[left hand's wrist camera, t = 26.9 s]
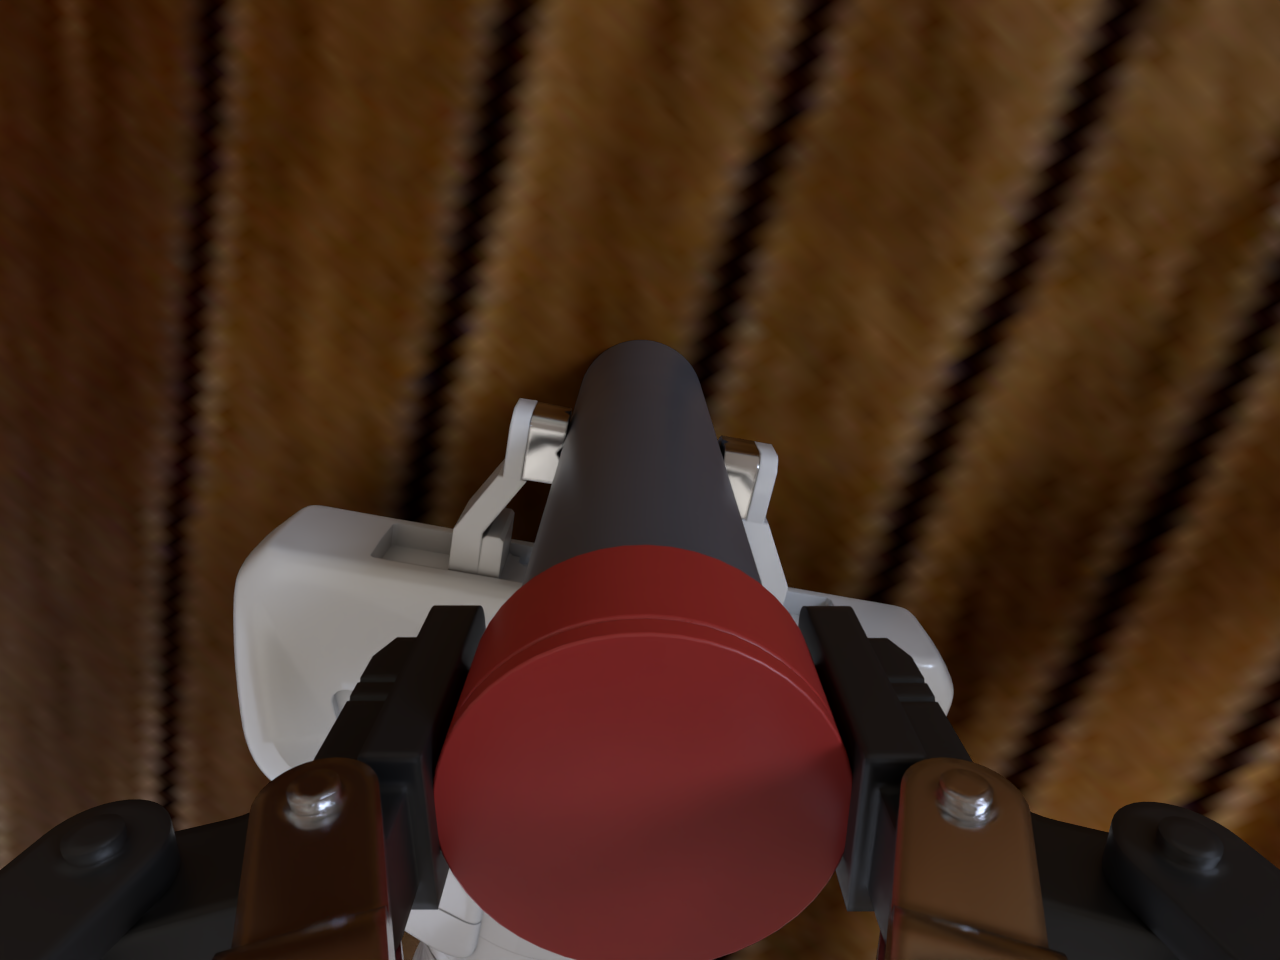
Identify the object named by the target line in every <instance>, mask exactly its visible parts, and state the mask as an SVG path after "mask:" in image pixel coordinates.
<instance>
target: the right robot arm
mask: <svg viewBox="0 0 1280 960" xmlns="http://www.w3.org/2000/svg"><path fill="white" fill-rule="evenodd" d="M571 414H572V408H568V407H564V406H559V405H554V404H549V403H544V402H539V401H537V400H530V399H522V398H520V399H519V400H518V402H517V404H516V406H515V408H514V411H513V415H512V419H511V423H510V429H509V436H508V443H507V450H506V457H505V459H504V460H503V461H502V462H501V464H500V465H499V466H498V467H497V468H496V469H495V471H494V472H493V473H492V474H491V475H490V476H489V478H488V479H487V480H486V481H485V482H484V483H483V485H482V486H481V487H480V488H479V489H478V491H477V492H476V493H475V494H474V495H473V496H472V498H471V499H470V500H469V501H468V503H467V505H466V507H465V509H464V510H463V512H462V514H461V516H460V518H459V519H458V521H457V523H456V525H455V527H454V529H452V528H447V527H441V526H435V525H429V524H424V523H418V522H412V521H407V520H401V519H395V518H389V517H384V516H378V515H372V514H366V513H361V512H355V511H349V510H344V509H338V508H333V507H327V506H321V505H311V506H307V507H305V508H303V509H301V510H299V511H298V512H297V513H295V514H294V515H293V516H291V517H290V518H288V519H287V520H286V521H284V522H283V523H282V524H280V525H279V526H278V527H277V528H275V529H274V530H273V531H272V532H271V533H269V534H268V535H267V536H266V537H265V538H264V539H263V540H262V541H261V542H260V543H259V544H258V545H257V546H256V547H255V548H254V550H253V551H252V552H251V553H250V554H249V556H248V557H247V558H246V559H245V561H244V563H243V564H242V566H241V568H240V570H239V572H238V575H237V578H236V583H235V591H234V605H233V628H234V654H235V669H236V680H237V690H238V698H239V706H240V714H241V720H242V727H243V731H244V735H245V739H246V742H247V745H248V748H249V750H250V753H251V755H252V757H253V759H254V761H255V762H256V764H257V765H258V767H259V768H260V770H261V771H262V772H263V773H264V774H265V775H266V777H267V778H269V779H270V780H271V781H272V780H273V779H275V778H276V777H277V776H279V775H281V774H282V773H284V772H285V771H287V770H289V769H291V768H294V767H296V766H298V765H301V764H304V763H306V762H310V761H313V760H314V758H315V756H316V755H317V753H318V751H319V749H320V748H321V746H322V744H323V742H324V740H325V739H326V737H327V735H328V733H329V732H330V730H331V728H332V726H333V725H334V723H335V721H336V719H337V718H338V716H339V714H340V712H341V711H342V709H343V707H344V705H345V704H346V702H347V701H349V700H350V695H351V693H352V691H353V690H354V688H355V686H356V684H357V683H358V682H360V677H361V676H362V674H363V672H364V670H365V669H366V667H367V665H368V663H369V662H370V660H371V658H372V656H373V655H375V654H376V653H377V652H378V651H380V650H381V649H382V648H384V647H385V646H386V645H388V644H389V643H390V642H391V641H393V640H394V639H395V638H397V637H417V635H418V633H419V631H420V629H421V627H422V625H423V623H424V621H425V619H426V617H427V615H428V613H429V611H430V609H431V608H432V607H433V606H434V605H481V606H482V607H483V610H484V615H485V624H486V628H487V626H488V624H489V622H490V621H491V620H492V618H493V617H494V616H495V614H496V613H497V612H498V610H499V609H500V607H501V606H502V605H503V604H504V603H505V602H506V601H507V600H508V599H509V598H510V597H511V596H512V595H513V594H514V593H515V592H516V591H517V590H518V589H519V588H521V587H522V584H523V580H524V577H525V574H526V570H527V567H528V564H529V560H530V557H531V553H532V550H533V547H534V543H533V542H527V541H521V540H515V539H511V537H512V530H513V522H514V514H515V513H514V511H513V510H512V509H509V508H505V506H506V505H507V504H508V503H509V502H510V500H511V499H512V498H513V497H514V496H515V495H516V493H517V492H518V491H519V490H520V489H521V487H522V486H523V485H524V484H525V483H526V481H527V480H530V481H537V482H543V483H550V484H552V482H553V479H554V475H555V472H556V468H557V465H558V462H559V458H560V455H561V452H562V448H563V445H564V442H565V439H566V436H567V431H568V429H569V425H570V420H571ZM718 444H719V447H720V450H721V453H722V457H723V460H724V463H725V466H726V470H727V473H728V476H729V479H730V483H731V486H732V489H733V492H734V496H735V499H736V502H737V505H738V508H739V512H740V515H741V518H742V521H743V525H744V528H745V531H746V534H747V538H748V541H749V544H750V547H751V551H752V554H753V557H754V560H755V563H756V567H757V570H758V573H759V576H760V580H761V583H762V586H764V587H765V588H766V589H767V590H768V591H769V592H770V593H772V594H773V595H774V596H775V597H776V598H777V599H778V600H779V602H780V603H781V604H782V605H783V606H784V607H785V608H786V610H787V611H788V612H789V613H790V615H791V616H792V618H793V619H794V621H795V622H796V624H797V626H798V623H799V615H800V610H801V608H802V607H803V606H851V607H852V608H853V610H854V612H855V614H856V616H857V618H858V620H859V622H860V624H861V625H862V627H863V629H864V631H865V633H866V635H867V637H868V638H888V639H889V640H891V641H892V642H893V643H894V644H896V645H897V646H898V647H900V648H901V649H902V650H904V651H905V652H906V653H907V654H909V655H910V656H911V657H912V658H913V660H914V662H915V663H916V665H917V667H918V668H919V670H920V672H921V674H922V675H923V677H924V681H925V683H927V684H928V686H929V687H930V689H931V691H932V693H933V694H934V696H935V702H938V703H939V705H940V706H941V708H942V710H943V712H944V713H945V715H946V717H947V714H948V712H949V709H950V706H951V704H952V699H953V692H954V691H953V684H952V680H951V676H950V674H949V672H948V669H947V667H946V665H945V663H944V661H943V659H942V657H941V655H940V653H939V651H938V649H937V648H936V646H935V644H934V643H933V641H932V640H931V638H930V637H929V636H928V634H927V633H926V631H925V630H924V629H923V627H922V626H921V625H920V623H919V622H918V620H917V619H916V618H915V617H914V615H913V614H912V613H911V612H909V611H908V610H907V609H905V608H902V607H898V606H894V605H889V604H883V603H877V602H872V601H866V600H860V599H854V598H849V597H843V596H837V595H831V594H826V593H820V592H814V591H808V590H803V589H797V588H791V587H788V586H787V582H786V579H785V576H784V573H783V569H782V566H781V563H780V560H779V557H778V553H777V550H776V547H775V544H774V540H773V537H772V534H771V531H770V527H769V524H768V522H767V519H766V513H767V509H768V505H769V502H770V498H771V494H772V490H773V487H774V483H775V479H776V475H777V469H778V456H777V454H776V452H775V450H774V448H773V446H772V445H771V444H766V443H760V442H754V441H750V440H744V439H738V438H732V437H727V436H720V438H719V440H718ZM405 931H406V932H407V933H409V934H411V935H412V936H414V937H415V938H417V939H419V940H420V942H419V944H418V947H417V949H416V951H415V954H414V956H413V959H412V960H574V959H571V958H567V957H563V956H561V955H558V954H555V953H553V952H550V951H547V950H545V949H542V948H540V947H538V946H536V945H534V944H532V943H530V942H528V941H526V940H524V939H522V938H520V937H518V936H517V935H515V934H514V933H512V932H510V931H509V930H507V929H506V928H504V927H503V926H501V925H500V924H498V923H497V922H496V921H495V920H494V919H492V918H491V917H490V916H489V915H488V914H486V913H485V912H484V911H483V910H482V909H481V908H480V907H479V906H478V905H477V904H476V903H475V902H474V901H473V900H472V899H471V898H470V897H469V896H468V894H467V893H466V892H465V891H464V889H463V888H462V887H461V885H460V884H459V882H458V881H457V880H456V878H455V877H454V875H453V874H452V872H451V870H450V868H449V871H448V875H447V879H446V882H445V886H444V889H443V893H442V897H441V900H440V904H439V907H438V910H411V912H410V915H409V918H408V921H407V924H406V927H405Z"/></svg>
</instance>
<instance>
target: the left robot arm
mask: <svg viewBox="0 0 1280 960" xmlns="http://www.w3.org/2000/svg"><path fill="white" fill-rule="evenodd" d="M798 627H799V629H800V630H801V633H802V635H803V637H804V639H805V641H806V644H807V646H808V648H809V651H810V654H811V656H812V659H813V662H814V664H815V667H816V670H817V673H818V675H819V678H820V681H821V683H822V686H823V689H824V692H825V694H826V697H827V700H828V703H829V705H830V708H831V711H832V713H833V716H834V719H835V722H836V724H837V727H838V730H839V733H840V736H841V738H842V741H843V743H844V746H845V749H846V752H847V755H848V758H849V762H850V766H851V770H852V775H853V779H852V791H851V799H850V808H849V817H848V825H847V834H846V842H845V849H844V854H843V856H842V858H841V861H840V863H839V865H838V867H837V868H836V873H837V877H838V880H839V884H840V887H841V891H842V894H843V898H844V901H845V905H846V908H847V911H874V912H875V915H876V918H877V921H878V924H879V927H880V936H879V943H878V950H877V957H876V960H1280V870H1279V869H1278V868H1276V867H1275V866H1274V865H1273V864H1271V863H1270V862H1269V861H1268V860H1266V859H1265V858H1264V857H1263V856H1262V855H1260V854H1259V853H1258V852H1257V851H1255V850H1254V849H1253V848H1252V847H1250V846H1249V845H1248V844H1247V843H1245V842H1244V841H1243V840H1242V839H1240V838H1239V837H1238V836H1236V835H1235V834H1234V833H1232V832H1231V831H1230V830H1228V829H1227V828H1225V827H1223V826H1222V825H1220V824H1218V823H1217V822H1215V821H1213V820H1211V819H1209V818H1207V817H1205V816H1203V815H1201V814H1198V813H1196V812H1193V811H1191V810H1188V809H1185V808H1181V807H1178V806H1174V805H1170V804H1165V803H1157V802H1138V803H1132V804H1129V805H1126V806H1124V807H1122V808H1121V809H1119V810H1118V811H1117V812H1116V813H1115V815H1114V817H1113V819H1112V822H1111V826H1110V830H1109V833H1108V832H1104V831H1100V830H1095V829H1091V828H1087V827H1082V826H1078V825H1074V824H1069V823H1065V822H1061V821H1057V820H1053V819H1049V818H1046V817H1043V816H1040V815H1037V814H1035V813H1032V812H1030V809H1029V806H1028V804H1027V802H1026V800H1025V798H1024V797H1023V795H1022V794H1021V793H1020V791H1019V790H1018V789H1017V788H1016V787H1015V786H1014V785H1013V784H1012V783H1011V782H1009V781H1008V780H1007V779H1005V778H1004V777H1003V776H1001V775H999V774H998V773H996V772H995V771H993V770H991V769H989V768H986V767H984V766H982V765H979V764H976V763H974V762H972V760H971V758H970V757H969V755H968V753H967V751H966V750H965V748H964V746H963V744H962V743H961V741H960V739H959V738H958V736H957V734H956V732H955V731H954V729H953V727H952V725H951V724H950V722H949V720H948V719H947V717H946V715H945V713H944V712H943V710H942V708H941V706H940V705H939V703H938V702H935V696H934V694H933V693H932V691H931V689H930V687H929V686H928V684H927V683H925V681H924V677H923V675H922V674H921V672H920V670H919V668H918V667H917V665H916V663H915V662H914V660H913V658H912V657H911V656H910V655H909V654H907V653H906V652H905V651H904V650H902V649H901V648H900V647H898V646H897V645H896V644H894V643H893V642H892V641H891V640H889V639H888V638H868V637H867V635H866V633H865V631H864V629H863V627H862V625H861V624H860V622H859V620H858V618H857V616H856V614H855V612H854V610H853V608H852V607H851V606H803V607H802V608H801V610H800V615H799V623H798ZM485 630H486V624H485V615H484V610H483V607H482V606H481V605H434V606H433V607H432V608H431V609H430V611H429V613H428V615H427V617H426V619H425V621H424V623H423V625H422V627H421V629H420V631H419V633H418V635H417V637H397V638H395V639H394V640H393V641H391V642H390V643H389V644H388V645H386V646H385V647H384V648H382V649H381V650H380V651H378V652H377V653H376V654H375V655H373V656H372V658H371V660H370V662H369V663H368V665H367V667H366V669H365V670H364V672H363V674H362V676H361V677H360V682H358V683H357V684H356V686H355V688H354V690H353V691H352V693H351V695H350V700H349V701H347V702H346V704H345V705H344V707H343V709H342V711H341V712H340V714H339V716H338V718H337V719H336V721H335V723H334V725H333V726H332V728H331V730H330V732H329V733H328V735H327V737H326V739H325V740H324V742H323V744H322V746H321V748H320V749H319V751H318V753H317V755H316V756H315V758H314V760H313V761H310V762H306V763H304V764H301V765H298V766H296V767H294V768H291V769H289V770H287V771H285V772H284V773H282V774H281V775H279V776H277V777H276V778H275V779H273V780H272V781H271V782H269V783H268V784H267V785H266V786H265V787H264V788H263V789H262V790H261V791H260V793H259V794H258V795H257V797H256V798H255V800H254V802H253V804H252V806H251V809H250V813H248V814H245V815H242V816H239V817H235V818H232V819H228V820H224V821H219V822H215V823H211V824H206V825H202V826H198V827H194V828H189V829H185V830H181V831H176V832H174V829H173V825H172V821H171V817H170V815H169V813H168V811H167V810H166V809H165V808H164V807H163V806H161V805H159V804H158V803H155V802H152V801H148V800H122V801H116V802H111V803H107V804H103V805H100V806H97V807H94V808H91V809H89V810H86V811H84V812H81V813H79V814H77V815H75V816H73V817H71V818H69V819H67V820H65V821H64V822H62V823H61V824H59V825H57V826H56V827H54V828H53V829H51V830H50V831H49V832H47V833H46V834H45V835H43V836H42V837H41V838H40V839H38V840H37V841H36V842H35V843H33V844H32V845H31V846H30V847H28V848H27V849H26V850H25V851H23V852H22V853H21V854H20V855H18V856H17V857H16V858H15V859H14V860H12V861H11V862H10V863H9V864H7V865H6V866H5V867H4V868H2V869H1V870H0V960H404V957H403V950H402V943H401V940H402V937H403V934H404V931H405V927H406V924H407V921H408V918H409V915H410V912H411V910H438V907H439V904H440V900H441V897H442V893H443V889H444V886H445V882H446V879H447V875H448V871H449V866H448V864H447V862H446V860H445V858H444V856H443V854H442V851H441V848H440V844H439V837H438V829H437V820H436V811H435V802H434V792H433V780H434V774H435V768H436V764H437V761H438V758H439V756H440V753H441V750H442V747H443V744H444V741H445V738H446V735H447V733H448V730H449V727H450V724H451V721H452V718H453V715H454V713H455V710H456V707H457V704H458V701H459V698H460V695H461V693H462V690H463V687H464V684H465V681H466V678H467V675H468V673H469V670H470V667H471V664H472V661H473V658H474V655H475V653H476V650H477V647H478V644H479V641H480V639H481V637H482V635H483V634H484V632H485Z"/></svg>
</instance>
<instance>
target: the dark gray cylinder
mask: <svg viewBox="0 0 1280 960" xmlns="http://www.w3.org/2000/svg"><path fill="white" fill-rule="evenodd" d="M627 545H657V546H668V547H675V548H680V549H685V550H690V551H695V552H698V553H701V554H704V555H707V556H710V557H713V558H715V559H718V560H720V561H723V562H725V563H727V564H729V565H731V566H733V567H735V568H737V569H739V570H741V571H742V572H744V573H745V574H747V575H748V576H750V577H751V578H753V579H754V580H756V581H758V582H759V583H760V584H761V585H762V583H761V580H760V576H759V573H758V570H757V567H756V563H755V560H754V557H753V554H752V551H751V547H750V544H749V541H748V538H747V534H746V531H745V528H744V525H743V521H742V518H741V515H740V512H739V508H738V505H737V502H736V499H735V496H734V492H733V489H732V486H731V483H730V479H729V476H728V473H727V470H726V466H725V463H724V460H723V457H722V453H721V450H720V447H719V444H718V440H717V437H716V434H715V431H714V428H713V424H712V421H711V418H710V415H709V411H708V408H707V405H706V402H705V398H704V395H703V392H702V389H701V385H700V382H699V380H698V377H697V375H696V373H695V371H694V369H693V368H692V366H691V365H690V364H689V362H688V361H687V360H686V359H685V358H684V357H683V356H682V355H681V354H679V353H678V352H677V351H676V350H674V349H672V348H670V347H669V346H666V345H664V344H662V343H658V342H654V341H648V340H634V341H627V342H623V343H620V344H618V345H615V346H613V347H611V348H609V349H608V350H606V351H605V352H603V353H602V354H601V355H599V356H598V357H597V358H596V359H595V360H594V362H593V363H592V364H591V365H590V367H589V368H588V370H587V372H586V374H585V376H584V378H583V381H582V384H581V387H580V390H579V394H578V397H577V401H576V404H575V407H574V411H573V414H572V418H571V421H570V425H569V429H568V431H567V436H566V439H565V442H564V445H563V448H562V452H561V455H560V458H559V462H558V465H557V468H556V472H555V475H554V479H553V482H552V485H551V489H550V492H549V496H548V499H547V502H546V506H545V509H544V513H543V516H542V519H541V523H540V526H539V530H538V533H537V536H536V540H535V543H534V547H533V550H532V553H531V557H530V560H529V564H528V567H527V570H526V574H525V577H524V580H523V584H522V586H523V585H525V584H526V583H527V582H528V581H530V580H531V579H532V578H534V577H535V576H537V575H539V574H540V573H542V572H544V571H545V570H547V569H549V568H551V567H552V566H554V565H556V564H559V563H561V562H563V561H566V560H568V559H571V558H573V557H575V556H578V555H582V554H585V553H589V552H592V551H596V550H599V549H605V548H612V547H618V546H627Z"/></svg>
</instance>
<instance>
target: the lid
mask: <svg viewBox="0 0 1280 960" xmlns="http://www.w3.org/2000/svg"><path fill="white" fill-rule="evenodd" d="M852 779H853V775H852V770H851V766H850V762H849V758H848V755H847V752H846V749H845V746H844V743H843V741H842V738H841V736H840V733H839V730H838V727H837V724H836V722H835V719H834V716H833V713H832V711H831V708H830V705H829V703H828V700H827V697H826V694H825V692H824V689H823V686H822V683H821V681H820V678H819V675H818V673H817V670H816V667H815V664H814V662H813V659H812V656H811V654H810V651H809V648H808V646H807V644H806V641H805V639H804V637H803V635H802V633H801V630H800V629H799V627H798V626H797V624H796V622H795V621H794V619H793V618H792V616H791V615H790V613H789V612H788V611H787V610H786V608H785V607H784V606H783V605H782V604H781V603H780V602H779V600H778V599H777V598H776V597H775V596H774V595H773V594H772V593H770V592H769V591H768V590H767V589H766V588H765V587H764V586H762V585H761V584H760V583H759V582H758V581H756V580H754V579H753V578H751V577H750V576H748V575H747V574H745V573H744V572H742V571H741V570H739V569H737V568H735V567H733V566H731V565H729V564H727V563H725V562H723V561H720V560H718V559H715V558H713V557H710V556H707V555H704V554H701V553H698V552H695V551H690V550H685V549H680V548H675V547H668V546H657V545H627V546H618V547H612V548H605V549H599V550H596V551H592V552H589V553H585V554H582V555H578V556H575V557H573V558H571V559H568V560H566V561H563V562H561V563H559V564H556V565H554V566H552V567H551V568H549V569H547V570H545V571H544V572H542V573H540V574H539V575H537V576H535V577H534V578H532V579H531V580H530V581H528V582H527V583H526V584H525V585H523V586H522V587H521V588H519V589H518V590H517V591H516V592H515V593H514V594H513V595H512V596H511V597H510V598H509V599H508V600H507V601H506V602H505V603H504V604H503V605H502V606H501V607H500V609H499V610H498V612H497V613H496V614H495V616H494V617H493V618H492V620H491V621H490V622H489V624H488V626H487V628H486V630H485V632H484V634H483V635H482V637H481V639H480V641H479V644H478V647H477V650H476V653H475V655H474V658H473V661H472V664H471V667H470V670H469V673H468V675H467V678H466V681H465V684H464V687H463V690H462V693H461V695H460V698H459V701H458V704H457V707H456V710H455V713H454V715H453V718H452V721H451V724H450V727H449V730H448V733H447V735H446V738H445V741H444V744H443V747H442V750H441V753H440V756H439V758H438V761H437V764H436V768H435V774H434V780H433V792H434V802H435V811H436V820H437V829H438V837H439V844H440V848H441V851H442V854H443V856H444V858H445V860H446V862H447V864H448V866H449V868H450V870H451V872H452V874H453V875H454V877H455V878H456V880H457V881H458V882H459V884H460V885H461V887H462V888H463V889H464V891H465V892H466V893H467V894H468V896H469V897H470V898H471V899H472V900H473V901H474V902H475V903H476V904H477V905H478V906H479V907H480V908H481V909H482V910H483V911H484V912H485V913H486V914H488V915H489V916H490V917H491V918H492V919H494V920H495V921H496V922H497V923H498V924H500V925H501V926H503V927H504V928H506V929H507V930H509V931H510V932H512V933H514V934H515V935H517V936H518V937H520V938H522V939H524V940H526V941H528V942H530V943H532V944H534V945H536V946H538V947H540V948H542V949H545V950H547V951H550V952H553V953H555V954H558V955H561V956H563V957H567V958H571V959H574V960H712V959H715V958H718V957H721V956H724V955H727V954H730V953H734V952H736V951H739V950H741V949H743V948H745V947H747V946H750V945H752V944H754V943H756V942H758V941H760V940H762V939H764V938H765V937H767V936H769V935H770V934H772V933H774V932H776V931H777V930H779V929H780V928H782V927H783V926H784V925H786V924H787V923H788V922H790V921H791V920H792V919H794V918H795V917H796V916H798V915H799V914H800V913H801V912H802V911H803V910H804V909H805V908H806V907H807V906H808V905H809V904H810V903H811V902H812V901H813V900H814V899H815V898H816V897H817V895H818V894H819V893H820V892H821V890H822V889H823V888H824V887H825V885H826V884H827V883H828V882H829V880H830V878H831V877H832V875H833V873H834V872H835V870H836V868H837V867H838V865H839V863H840V861H841V858H842V856H843V854H844V849H845V842H846V834H847V825H848V817H849V808H850V799H851V791H852Z"/></svg>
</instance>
